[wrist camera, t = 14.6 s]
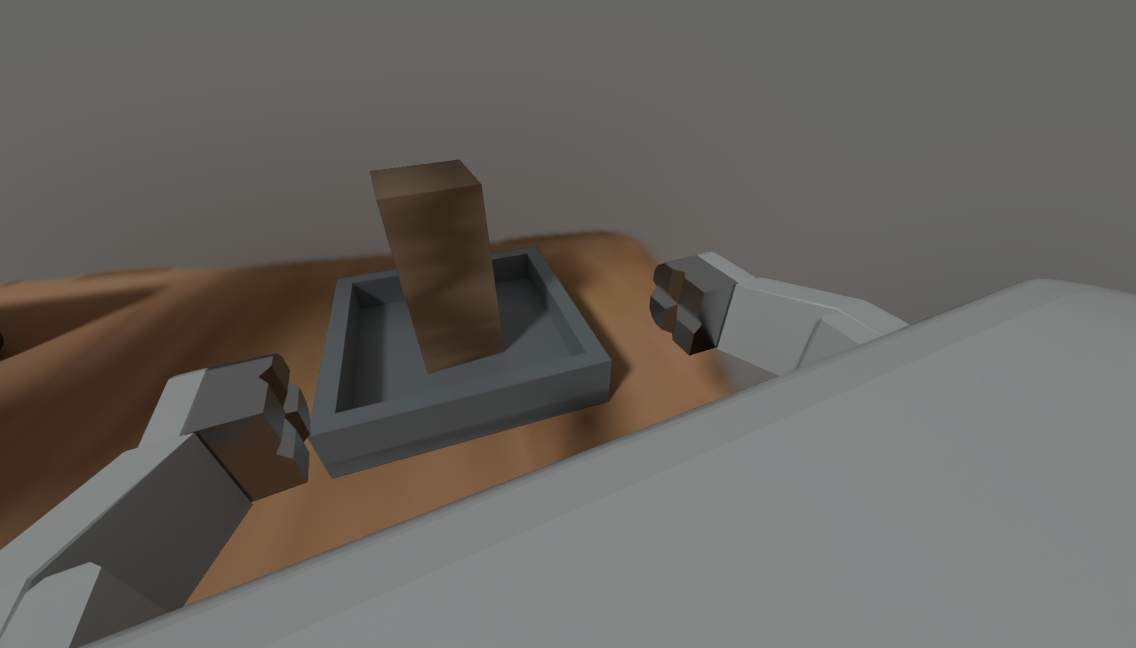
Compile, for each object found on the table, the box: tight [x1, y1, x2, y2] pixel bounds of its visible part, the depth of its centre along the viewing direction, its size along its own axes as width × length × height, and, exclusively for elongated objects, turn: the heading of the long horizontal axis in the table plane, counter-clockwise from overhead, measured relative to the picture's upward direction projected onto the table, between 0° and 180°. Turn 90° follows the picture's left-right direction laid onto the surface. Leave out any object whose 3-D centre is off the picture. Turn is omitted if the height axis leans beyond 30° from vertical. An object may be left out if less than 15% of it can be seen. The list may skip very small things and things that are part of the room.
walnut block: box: [370, 160, 504, 374], centre depth 23 cm, size 4×4×10 cm
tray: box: [308, 246, 612, 478], centre depth 25 cm, size 14×14×3 cm
